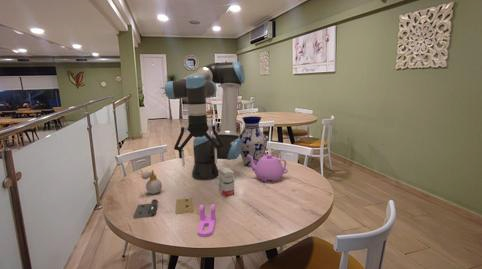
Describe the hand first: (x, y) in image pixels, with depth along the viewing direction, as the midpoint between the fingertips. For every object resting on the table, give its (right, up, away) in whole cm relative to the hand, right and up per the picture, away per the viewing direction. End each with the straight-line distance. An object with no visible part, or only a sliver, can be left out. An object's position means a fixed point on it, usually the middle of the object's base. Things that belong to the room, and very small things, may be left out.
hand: (200, 164), depth 117 cm
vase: (+25, -7, +61) cm, 66 cm away
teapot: (+32, -12, +35) cm, 48 cm away
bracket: (+5, -22, -14) cm, 26 cm away
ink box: (+10, -16, +17) cm, 25 cm away
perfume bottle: (-25, -16, +18) cm, 35 cm away
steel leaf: (-23, -20, 0) cm, 31 cm away
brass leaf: (-7, -19, +3) cm, 21 cm away
